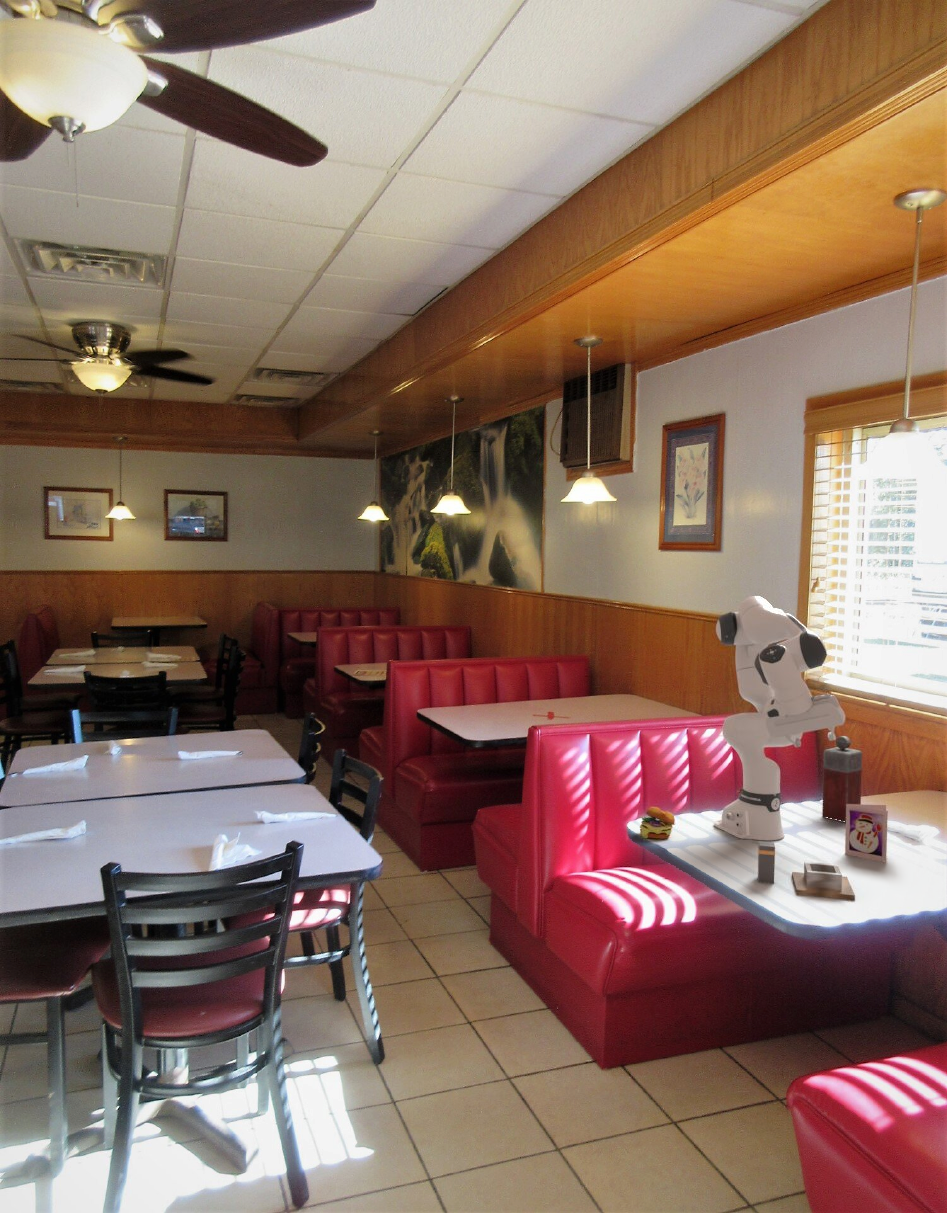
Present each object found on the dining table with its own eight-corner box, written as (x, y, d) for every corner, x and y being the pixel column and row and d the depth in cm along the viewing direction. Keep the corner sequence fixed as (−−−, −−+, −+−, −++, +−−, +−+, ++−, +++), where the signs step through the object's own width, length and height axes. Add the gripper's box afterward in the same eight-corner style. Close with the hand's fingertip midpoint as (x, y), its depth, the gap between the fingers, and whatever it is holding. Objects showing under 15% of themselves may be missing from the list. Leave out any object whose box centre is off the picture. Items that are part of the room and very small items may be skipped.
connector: (758, 882, 235) (759, 845, 235) (757, 877, 239) (758, 841, 239) (774, 883, 234) (775, 846, 234) (773, 878, 238) (774, 842, 238)
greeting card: (844, 854, 259) (845, 804, 258) (851, 848, 264) (852, 799, 264) (885, 862, 251) (886, 811, 251) (892, 856, 257) (893, 806, 256)
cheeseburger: (630, 833, 277) (636, 802, 278) (655, 836, 283) (661, 806, 284) (652, 841, 269) (658, 809, 269) (677, 844, 274) (683, 813, 275)
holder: (796, 894, 227) (797, 874, 226) (792, 875, 240) (792, 857, 240) (854, 899, 223) (855, 879, 223) (846, 881, 236) (847, 862, 236)
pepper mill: (864, 817, 297) (866, 736, 296) (846, 823, 291) (848, 739, 290) (839, 811, 305) (841, 732, 303) (821, 816, 298) (823, 735, 297)
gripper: (835, 686, 230) (855, 728, 233) (761, 702, 242) (781, 742, 245) (833, 699, 225) (853, 742, 229) (757, 715, 237) (777, 755, 240)
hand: (815, 742), depth 237 cm, fingers open, 8 cm apart
